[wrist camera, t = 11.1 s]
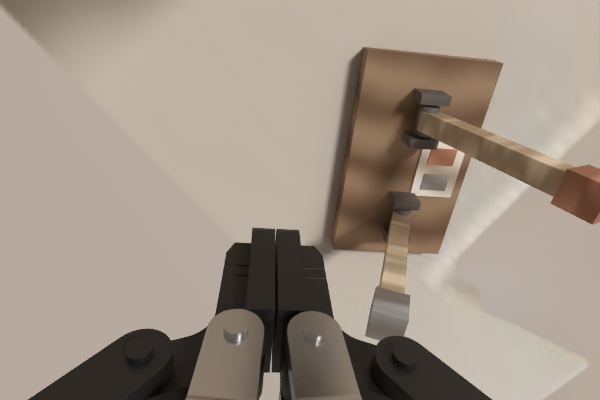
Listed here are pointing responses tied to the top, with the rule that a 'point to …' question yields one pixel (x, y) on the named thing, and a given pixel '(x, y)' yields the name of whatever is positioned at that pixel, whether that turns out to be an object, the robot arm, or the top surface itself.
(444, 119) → the terracotta lever
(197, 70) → the top surface
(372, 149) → the switch board
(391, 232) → the slate lever
